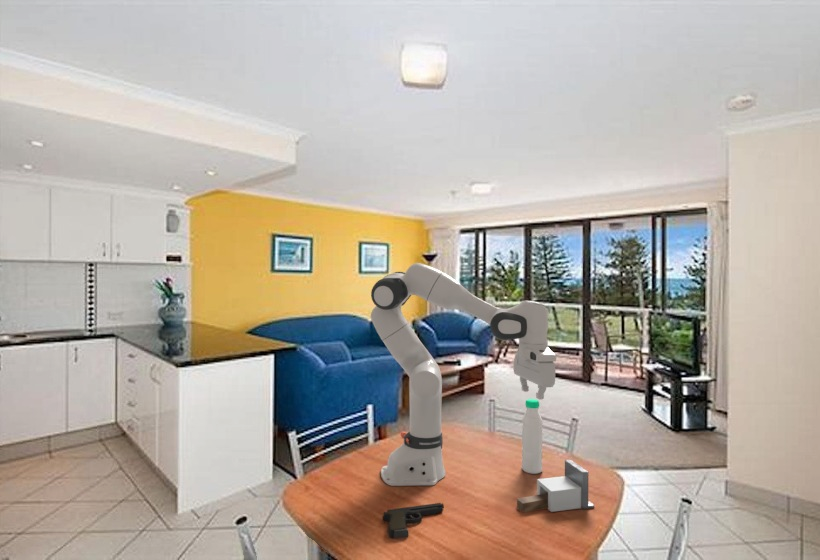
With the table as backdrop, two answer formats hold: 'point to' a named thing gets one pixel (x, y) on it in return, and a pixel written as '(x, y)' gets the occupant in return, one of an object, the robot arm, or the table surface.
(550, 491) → the tunnel block
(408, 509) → the handgun
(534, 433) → the water bottle
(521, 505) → the walnut bar
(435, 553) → the table surface
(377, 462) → the table surface
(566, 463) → the wall
